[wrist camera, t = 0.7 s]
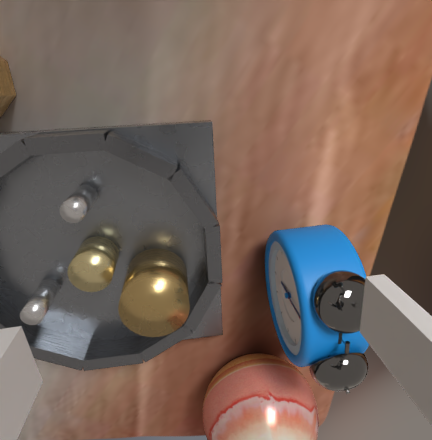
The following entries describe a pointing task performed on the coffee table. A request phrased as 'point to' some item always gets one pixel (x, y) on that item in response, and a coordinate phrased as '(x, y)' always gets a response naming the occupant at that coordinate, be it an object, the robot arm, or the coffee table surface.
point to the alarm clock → (318, 303)
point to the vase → (259, 401)
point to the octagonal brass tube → (5, 86)
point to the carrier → (109, 241)
